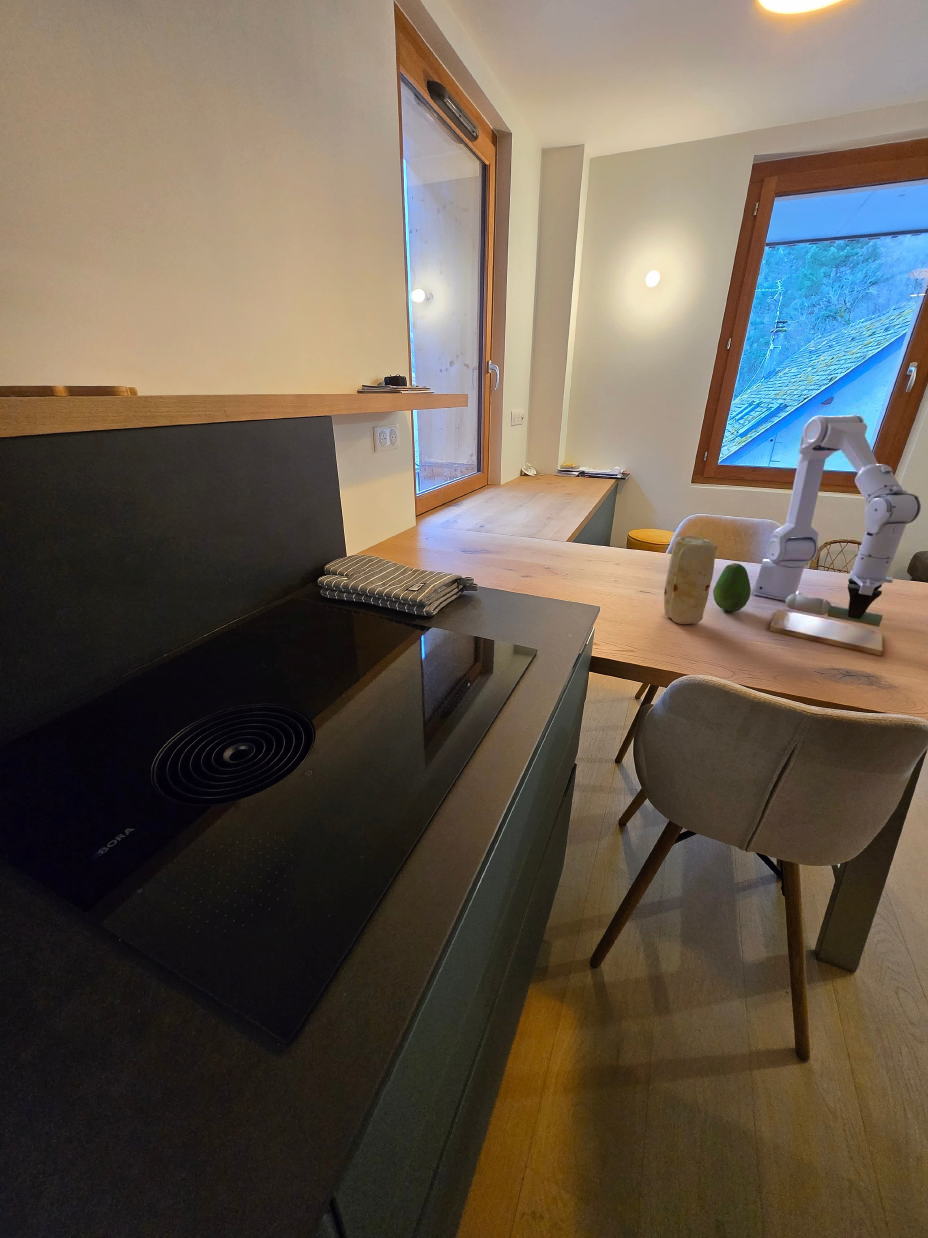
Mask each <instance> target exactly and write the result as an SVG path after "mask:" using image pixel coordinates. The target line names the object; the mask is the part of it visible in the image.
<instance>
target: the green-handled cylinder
mask: <svg viewBox="0 0 928 1238" xmlns="http://www.w3.org/2000/svg"><path fill="white" fill-rule="evenodd" d="M785 606H786V607H787V608H788V609H790V610H793V611H798V612H802V613H808V614H813V615H818V616H825V615H827V617H828V618H833V619H837V620H843V621H847V622H848V621H849V622H853V623H858V624H861V625H862V624H863V625H867V626H872V627H877V628H878V627H880V625H881V623H882V621H883V616H884V615H883V614H881V613H876V612H870V611H866V612H865V613H864V615H863V616H862V617H861V618H860V619H855V618H850V617H848V608H849V607H844V606H840V605H839V606H838V605H834V604H832V603H831V601H829V600H828V599H825V598H821V597H815V596H810V595H804V594H800V593H798V594H792V595H790V596H788V597H787V598H786V601H785Z"/></svg>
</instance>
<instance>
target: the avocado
mask: <svg viewBox="0 0 928 1238" xmlns="http://www.w3.org/2000/svg"><path fill="white" fill-rule="evenodd" d="M751 592H752V588H751V582H750V577H749V574H748V570H747V569H746V567H745V566H743V564H741V563H738V562H737V563H736V562H733V563H730V564H727V565H726V566H725V567H724V569H723V570H722V572H721V574H720V575H719V577H718V580H717V581H716V583H715V585H714V587H713V590H712V594H713V600H714V602H715V603H716V605H717V606H718V608H720V609H721V610H724V611H727V612H738V611H740V610H742V609H743V608H744V607H746V605H747V603H748V601H749V600H750V598H751Z"/></svg>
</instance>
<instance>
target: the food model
mask: <svg viewBox="0 0 928 1238" xmlns="http://www.w3.org/2000/svg"><path fill="white" fill-rule="evenodd" d="M717 549H718V545H717V544H716V543H715V542H713V541H711V540H708V539H705V538H703V537H701V536H700V537H699V536H696V535H684V536H679V537H678V536H677V538H675V539H674V543H673V547H672V551H671V553H670V557H669V563H668V568H667V573H666V578H665V584H664V592H663V609H664V614H665V616H666V617H668V618H670V619H671V620H672V621H673V622H674V623H676V624H679V625H689V624H690V625H691V624H698V623H701V622H702V621H703V618H704V613H705V609H706V606H707V602H708V600H709V599H708V598H709V594H710V589H711V584H712V580H713V575H714V570H715V561H716V560H715V559H716V554H717Z"/></svg>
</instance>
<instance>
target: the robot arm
mask: <svg viewBox="0 0 928 1238" xmlns="http://www.w3.org/2000/svg"><path fill="white" fill-rule="evenodd" d="M867 430H868V424H867V423H865V420H864V418H863V416H861V415H860V414H852V415H814V416H813V417H812V418H810V419H809V421H808V422H806V423H805V425H804V426H803V428H802V433H801V437H800V442H799V448H798V453H799V457H798V461H797V465H796V471H795V475H794V480H793V486H792V491H791V496H790V501H789V506H788V510H787V515H786V521H785V524H783V525H781V526H780V527H778V528H776V529H775V530H773V531H772V535H771V538H770V540H769V542H768V544H767V546H766V555H767V558H768V559H767V558H764V559H763V560H762V562H761V565H760V569H759V571H758V576H757V578H756V581H755V584H754V585H755V588H754V591H753V595H754V596H759V597H763V598H764V597H765V598H770V599H775V600H778V601H779V600H780V601H784V602H786V598H787V597H788V596H790V595H792V594H800V592H799V590H798V589H799V586H800V583H801V579H802V577H803V576H802V575H803V572H804V570H805V566H808V565H809V562H811V561H814V559H815V558H816V557H817V555H818V552H819V543H818V540H819V532H817V531H816V529H814V527H812V523H813V518H814V514H815V509H816V506H817V505H816V504H817V500H818V497H819V492H820V491H819V490H820V486H821V482H822V477H823V474H824V468H825V465H826V461H827V459H828V458H830V457H831V456H832V455H833V454H835V453H837V452H839V451H841V453H842V454H843V455H844V457H845V458H846V459H847V461H848V462H849V463H850V465H851V467H852V468H853V469H854V470H855V471H856V473H857V474H856V476H855V478H854V483H855V485H856V487H857V489H858V491H859V492H860V494H861V496H862V497H863V499H864V501H865V503H866V505H865V507H864V518H865V522H864V526H863V528H864V535H863V537H862V541H861V544H860V547H859V550H858V553H857V555H856V559H855V562H854V564H853V567H852V570H851V571H850V573H849V578H848V584H847V591H848V596H849V601H848V607H847V608H848V617H850V618H855V619H860V618H861V617H862V616H863V615H864V613H865V612H867V610H868V609H869V607H870V606H871V605H872V603H873V602H874V601H875V600H877V599H878V598H879V597H880V596H881V595H882V594H883V590H880V589H881V588H882V587H883V584H885V583H888V584H893V582H894V577H892V576H888V575H889V571H890V569H891V566H892V564H893V561H894V558H895V555H896V553H897V551H898V547H899V546H900V542H901V540H902V537H903V535H904V532H905V530H906V527H907V525H908V524H911V523H913V522H914V521H915V520H917V518H918V517H919V515H920V513H921V510H922V504H921V500H920V498H919V496H918V495H917V494H915V493H913V492H912V493H911V492H908V491H907V490H904V489H903V487H902V486H901V484H900V483H899V481H898V480H897V478H896V476H895V475H894V473H893V471H894V470H893V469H892V467H891V466H890V465H889V466H888V465H887V464H884V463H878V461H877V459H876V457H875V455H874V453H873V450H872V448H871V446H870V444H869V441H868V440H867V437H866V435H867V434H866V433H867Z"/></svg>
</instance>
